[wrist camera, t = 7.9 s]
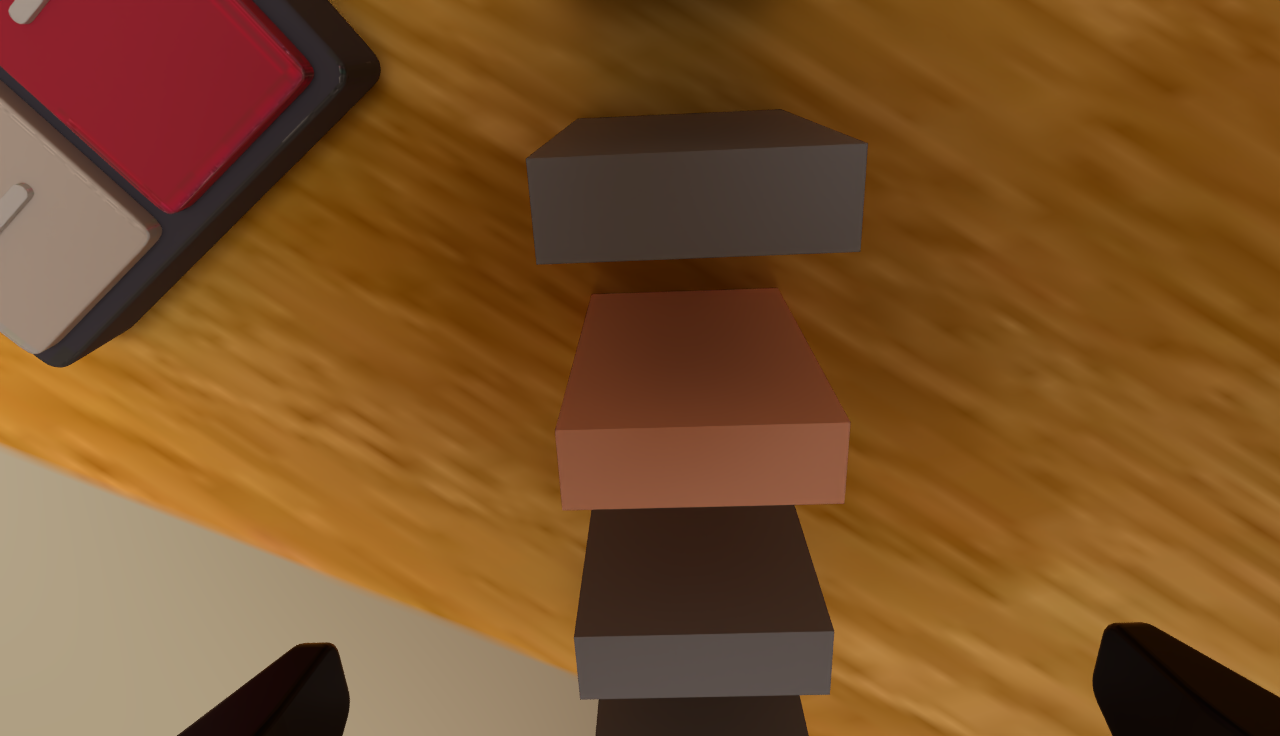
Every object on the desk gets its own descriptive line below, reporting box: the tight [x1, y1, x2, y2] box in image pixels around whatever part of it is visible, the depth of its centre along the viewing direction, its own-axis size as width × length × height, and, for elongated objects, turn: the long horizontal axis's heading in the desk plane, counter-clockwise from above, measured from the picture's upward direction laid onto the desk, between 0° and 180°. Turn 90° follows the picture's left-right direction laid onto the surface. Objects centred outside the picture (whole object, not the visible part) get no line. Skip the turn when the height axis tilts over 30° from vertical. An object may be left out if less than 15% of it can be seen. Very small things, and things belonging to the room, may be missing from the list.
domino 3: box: [574, 505, 834, 699], centre depth 18 cm, size 5×2×8 cm, turn 93°
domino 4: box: [596, 695, 809, 736], centre depth 20 cm, size 5×2×8 cm, turn 93°
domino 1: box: [526, 109, 868, 264], centre depth 15 cm, size 5×2×8 cm, turn 93°
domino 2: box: [555, 288, 850, 510], centre depth 17 cm, size 5×2×8 cm, turn 92°
